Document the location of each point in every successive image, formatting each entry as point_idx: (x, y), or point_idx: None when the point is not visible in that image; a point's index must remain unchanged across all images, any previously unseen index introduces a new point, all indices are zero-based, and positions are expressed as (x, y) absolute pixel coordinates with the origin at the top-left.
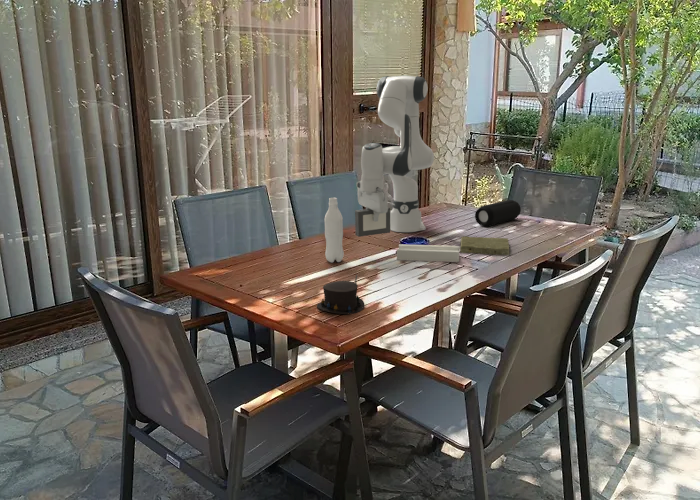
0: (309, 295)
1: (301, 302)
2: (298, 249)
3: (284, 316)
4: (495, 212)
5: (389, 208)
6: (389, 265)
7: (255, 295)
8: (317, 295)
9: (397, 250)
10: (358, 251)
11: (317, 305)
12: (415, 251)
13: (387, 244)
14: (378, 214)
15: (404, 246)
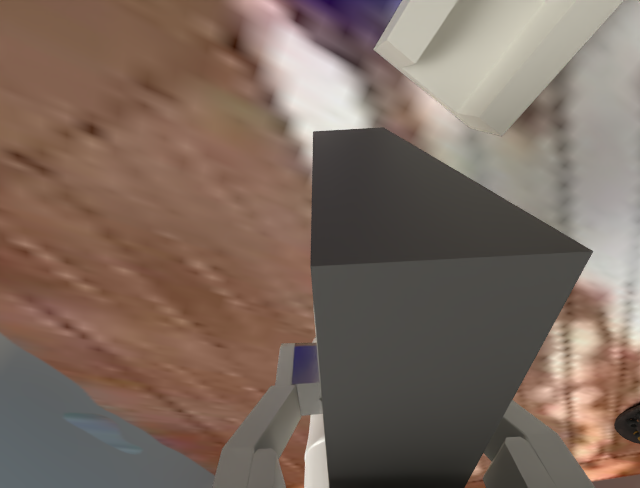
0: (557, 433)
1: (578, 446)
2: (164, 382)
3: (610, 469)
4: None
5: (571, 272)
6: (517, 200)
7: (479, 478)
8: (571, 424)
9: (504, 131)
10: (244, 235)
11: (633, 441)
12: (615, 4)
13: (126, 16)
14: (524, 420)
15: (443, 19)
